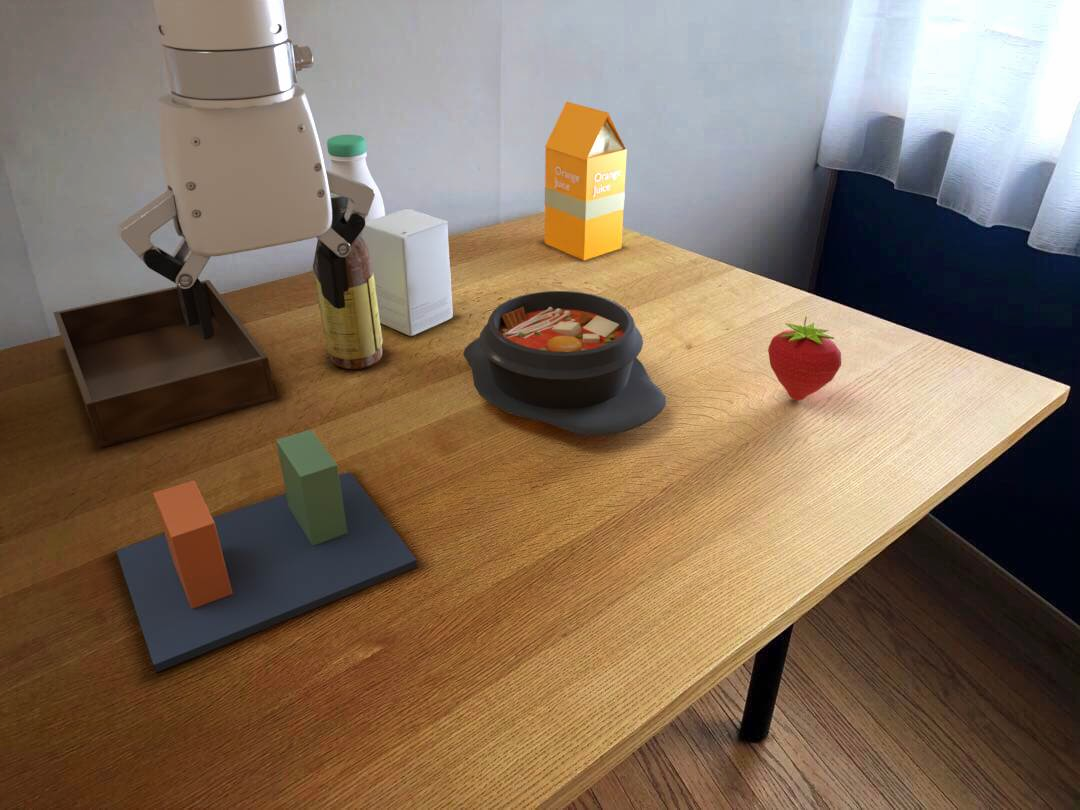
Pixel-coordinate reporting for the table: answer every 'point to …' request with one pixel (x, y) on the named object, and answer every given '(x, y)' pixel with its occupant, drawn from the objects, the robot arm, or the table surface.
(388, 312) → the white packaging box
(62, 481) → the table surface
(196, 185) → the robot arm
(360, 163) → the milk bottle
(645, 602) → the table surface
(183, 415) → the tray
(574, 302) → the casserole
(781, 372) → the strawberry
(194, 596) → the block
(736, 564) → the table surface
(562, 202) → the orange juice
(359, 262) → the sauce bottle
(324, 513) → the block
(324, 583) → the mat
